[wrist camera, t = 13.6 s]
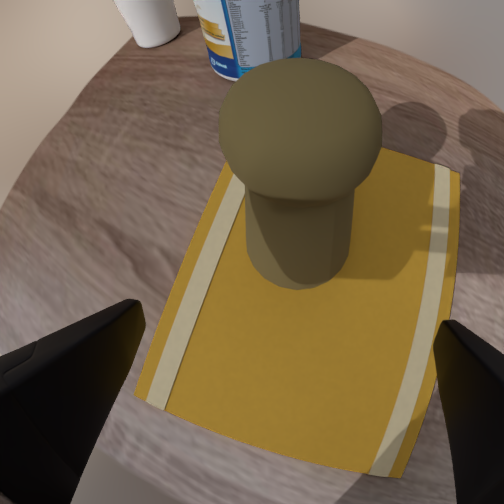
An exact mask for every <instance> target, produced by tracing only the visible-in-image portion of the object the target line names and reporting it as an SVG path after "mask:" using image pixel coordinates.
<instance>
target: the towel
mask: <svg viewBox="0 0 504 504" xmlns="http://www.w3.org/2000/svg"><path fill="white" fill-rule="evenodd" d="M459 220H460V174H459V173H457V172H454V171H451V170H450V169H449V168H446V167H444V166H441V165H438V164H432V163H429V162H426V161H423V160H420V159H417V158H414V157H411V156H408V155H405V154H402V153H399V152H395V151H392V150H389V149H386V148H382V147H381V150H380V152H379V155H378V158H377V160H376V162H375V164H374V166H373V168H372V170H371V172H370V174H369V176H368V177H367V178H366V179H365V180H364V181H363V182H362V183H361V184H360V185H359V186H358V187H357V188H355V193H354V206H353V218H352V229H351V239H350V247H349V254H348V257H347V259H346V261H345V263H344V265H343V267H342V269H341V270H340V271H339V272H338V273H337V274H336V275H335V276H334V277H333V278H332V279H331V280H329V281H328V282H326V283H324V284H321V285H319V286H317V287H315V288H310V289H301V290H293V289H288V288H283V287H279V286H277V285H275V284H273V283H272V282H270V281H268V280H266V279H265V278H264V277H263V276H262V275H261V274H260V273H259V272H258V271H257V270H256V269H255V268H254V267H253V265H252V262H251V260H250V258H249V255H248V253H247V246H246V222H245V185H244V184H243V183H242V182H241V181H240V180H239V179H238V178H237V177H236V175H235V174H234V173H233V172H232V171H231V169H230V167H229V165H228V162H227V161H226V163H225V165H224V167H223V170H222V172H221V174H220V176H219V178H218V181H217V183H216V185H215V187H214V190H213V192H212V194H211V196H210V199H209V201H208V203H207V205H206V208H205V210H204V212H203V215H202V217H201V219H200V222H199V224H198V226H197V229H196V231H195V233H194V236H193V238H192V240H191V243H190V245H189V248H188V250H187V252H186V255H185V257H184V260H183V262H182V265H181V267H180V270H179V272H178V275H177V277H176V280H175V282H174V285H173V287H172V290H171V292H170V295H169V298H168V300H167V303H166V305H165V308H164V311H163V313H162V316H161V319H160V321H159V324H158V327H157V329H156V332H155V335H154V338H153V340H152V343H151V346H150V349H149V352H148V354H147V357H146V360H145V363H144V366H143V369H142V372H141V374H140V377H139V380H138V383H137V386H136V389H135V392H134V396H136V397H138V398H140V399H142V400H144V401H146V402H147V403H149V404H151V405H153V406H155V407H157V408H159V409H161V410H163V411H164V410H165V411H167V412H169V413H171V414H173V415H176V416H178V417H180V418H182V419H185V420H187V421H189V422H192V423H194V424H196V425H199V426H201V427H204V428H206V429H209V430H211V431H214V432H216V433H219V434H221V435H224V436H227V437H230V438H232V439H235V440H238V441H241V442H244V443H247V444H249V445H252V446H256V447H259V448H262V449H265V450H268V451H271V452H275V453H278V454H282V455H285V456H289V457H292V458H296V459H300V460H304V461H308V462H312V463H316V464H320V465H324V466H329V467H334V468H338V469H343V470H349V471H354V472H360V473H366V474H369V475H374V476H381V477H394V478H401V476H402V474H403V472H404V470H405V467H406V465H407V463H408V460H409V458H410V455H411V453H412V450H413V448H414V445H415V442H416V440H417V437H418V434H419V432H420V429H421V426H422V423H423V420H424V417H425V414H426V411H427V408H428V404H429V401H430V398H431V395H432V391H433V388H434V384H435V380H436V377H437V372H436V365H435V359H434V352H433V343H434V339H435V337H436V334H437V332H438V329H439V326H440V324H441V322H442V321H443V320H449V317H450V311H451V305H452V298H453V291H454V283H455V275H456V265H457V254H458V240H459Z"/></svg>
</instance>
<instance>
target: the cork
mask: <svg viewBox="0 0 504 504" xmlns="http://www.w3.org/2000/svg"><path fill="white" fill-rule="evenodd" d="M219 143H220V146H221V149H222V152H223V154H224V156H225V158H226V160H227V162H228V165H229V167H230V169H231V171H232V172H233V173H234V174H235V175H236V177H237V178H238V179H239V180H240V181H241V182H242V183H243V184H244V185H245V222H246V246H247V253H248V255H249V258H250V260H251V262H252V265H253V267H254V268H255V269H256V270H257V271H258V272H259V273H260V274H261V275H262V276H263V277H264V278H265V279H266V280H268V281H270V282H272V283H273V284H275V285H277V286H279V287H283V288H288V289H293V290H301V289H310V288H315V287H317V286H319V285H321V284H324V283H326V282H328V281H329V280H331V279H332V278H333V277H334V276H335V275H336V274H337V273H338V272H339V271H340V270H341V269H342V267H343V265H344V263H345V261H346V259H347V257H348V254H349V247H350V239H351V229H352V218H353V206H354V193H355V188H357V187H358V186H359V185H360V184H361V183H362V182H363V181H364V180H365V179H366V178H367V177H368V176H369V174H370V172H371V170H372V168H373V166H374V164H375V162H376V160H377V158H378V155H379V152H380V150H381V147H382V120H381V114H380V111H379V109H378V107H377V105H376V102H375V100H374V98H373V96H372V94H371V93H370V91H369V89H368V88H367V87H366V86H365V85H364V84H363V83H362V82H361V81H360V80H359V79H358V78H357V77H356V76H355V75H353V74H352V73H350V72H348V71H347V70H345V69H343V68H342V67H340V66H337V65H334V64H331V63H328V62H325V61H322V60H316V59H308V58H287V59H278V60H274V61H271V62H267V63H264V64H261V65H259V66H257V67H255V68H253V69H251V70H249V71H248V72H246V73H244V74H243V75H242V76H241V77H240V78H239V79H238V80H237V81H236V82H235V83H234V84H233V85H232V86H231V88H230V90H229V92H228V93H227V95H226V97H225V99H224V102H223V104H222V106H221V109H220V111H219Z"/></svg>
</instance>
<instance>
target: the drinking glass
mask: <svg viewBox="0 0 504 504" xmlns="http://www.w3.org/2000/svg"><path fill="white" fill-rule="evenodd" d="M113 1H114V3H115V4H116V6H117V8H118V9H119V11H120V13H121V15H122V16H123V18H124V20H125V22H126V23H127V25H128V27H129V28H130V30H131V32H132V34H133V36H134V39H135V41H136V43H137V44H138V45H139V46H140V47H143V48H152V47H157V46H160V45H163V44H165V43H167V42H169V41H171V40H172V39H173V38H175V37H176V36H177V35H178V34H179V32H180V29H181V27H180V23H179V20H178V17H177V13H176V9H175V5H174V0H113Z"/></svg>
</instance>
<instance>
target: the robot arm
mask: <svg viewBox="0 0 504 504" xmlns="http://www.w3.org/2000/svg"><path fill="white" fill-rule="evenodd" d="M145 327H146V322H145V317H144V313H143V309H142V304H141V302H140V301H139V300H134V299H126V300H123V301H121V302H119V303H117V304H115V305H113V306H110V307H108V308H106V309H104V310H102V311H99V312H97V313H95V314H93V315H91V316H89V317H86V318H84V319H82V320H80V321H78V322H76V323H73V324H71V325H69V326H67V327H65V328H63V329H60V330H58V331H56V332H54V333H52V334H50V335H47V336H45V337H43V338H41V339H39V340H38V341H34V342H32V343H30V344H28V345H26V346H24V347H21V348H19V349H17V350H15V351H12V352H10V353H7V354H5V355H2V356H0V504H70V503H71V501H72V498H73V496H74V493H75V491H76V488H77V486H78V483H79V481H80V478H81V476H82V473H83V471H84V468H85V466H86V464H87V462H88V459H89V457H90V455H91V453H92V450H93V448H94V446H95V443H96V441H97V439H98V437H99V435H100V432H101V430H102V428H103V426H104V424H105V421H106V419H107V417H108V415H109V413H110V411H111V408H112V406H113V404H114V402H115V400H116V398H117V396H118V394H119V392H120V389H121V387H122V385H123V383H124V381H125V379H126V377H127V375H128V373H129V371H130V369H131V366H132V364H133V361H134V358H135V355H136V353H137V350H138V347H139V344H140V342H141V339H142V336H143V334H144V331H145ZM433 352H434V359H435V365H436V372H437V380H438V387H439V393H440V398H441V403H442V407H443V412H444V417H445V422H446V427H447V432H448V438H449V444H450V450H451V457H452V464H453V471H454V479H455V489H456V499H457V504H504V354H502V353H501V352H500V351H498V350H497V349H495V348H494V347H493V346H491V345H490V344H489V343H487V342H486V341H484V340H483V339H482V338H480V337H479V336H477V335H476V334H474V333H473V332H472V331H470V330H469V329H467V328H466V327H465V326H463V325H462V324H460V323H459V322H457V321H456V320H443V321H442V322H441V324H440V326H439V329H438V332H437V334H436V337H435V339H434V343H433Z"/></svg>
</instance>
